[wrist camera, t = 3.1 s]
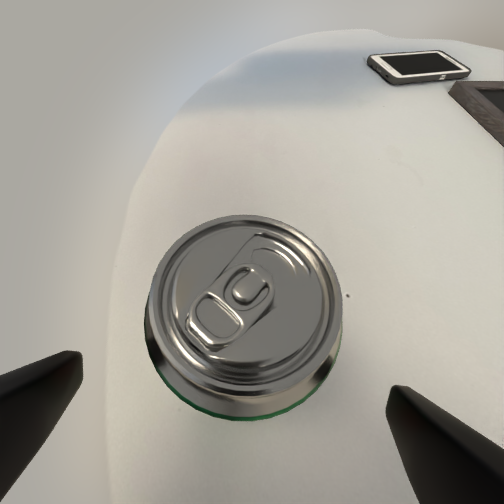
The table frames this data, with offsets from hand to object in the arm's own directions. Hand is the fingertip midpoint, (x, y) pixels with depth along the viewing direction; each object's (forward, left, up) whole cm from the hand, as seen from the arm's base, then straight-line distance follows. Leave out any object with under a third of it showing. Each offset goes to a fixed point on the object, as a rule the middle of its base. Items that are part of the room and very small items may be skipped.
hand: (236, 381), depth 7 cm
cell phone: (+42, -32, -9) cm, 53 cm away
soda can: (+2, 0, -9) cm, 9 cm away
